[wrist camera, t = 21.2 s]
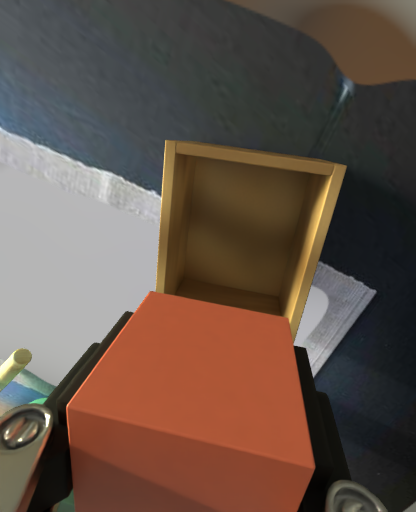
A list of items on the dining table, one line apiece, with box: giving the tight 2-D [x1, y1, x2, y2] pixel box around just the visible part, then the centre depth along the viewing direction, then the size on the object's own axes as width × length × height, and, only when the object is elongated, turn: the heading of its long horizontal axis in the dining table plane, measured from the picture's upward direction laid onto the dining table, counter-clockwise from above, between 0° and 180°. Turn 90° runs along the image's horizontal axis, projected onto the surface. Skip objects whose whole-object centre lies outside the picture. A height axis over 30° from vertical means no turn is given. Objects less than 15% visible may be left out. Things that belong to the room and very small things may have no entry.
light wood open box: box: [156, 140, 347, 343], centre depth 27 cm, size 16×13×9 cm
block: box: [66, 291, 315, 512], centre depth 8 cm, size 5×5×5 cm
